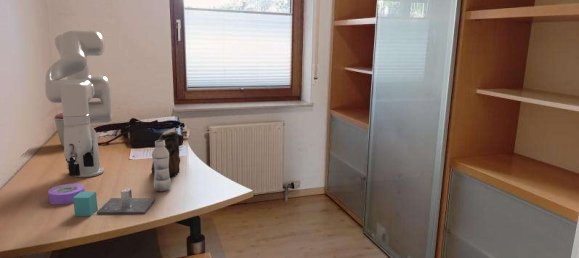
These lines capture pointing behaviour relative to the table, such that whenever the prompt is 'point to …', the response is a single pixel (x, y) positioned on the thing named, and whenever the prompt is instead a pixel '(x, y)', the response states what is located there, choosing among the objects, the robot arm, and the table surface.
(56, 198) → the masking tape
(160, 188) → the plastic bottle
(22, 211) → the table surface
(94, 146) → the robot arm
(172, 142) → the owl
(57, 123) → the canister
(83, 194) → the teal rounded cube
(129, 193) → the dark grey base plate
